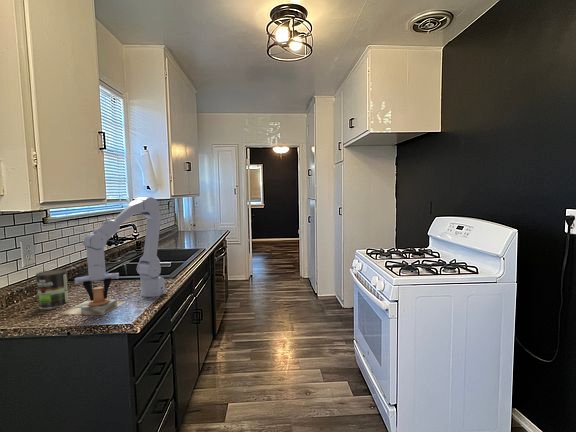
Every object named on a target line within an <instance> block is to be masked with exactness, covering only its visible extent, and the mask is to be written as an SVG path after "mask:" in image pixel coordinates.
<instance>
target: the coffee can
mask: <svg viewBox="0 0 576 432" xmlns="http://www.w3.org/2000/svg"><path fill="white" fill-rule="evenodd" d="M35 278H36V287H37V298H38V309H40V310H52V309H56V308H58V307H60V306H62V305H63V306H64V305H65V304H67V303H69V294H68V293H69V291H68V280H67V279H68V278H67V269H60V268H57V269H51V270H50V269H49V270H44V271H41V272H37V273H36V274H35Z"/></svg>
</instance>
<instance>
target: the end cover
mask: <svg viewBox="0 0 576 432" xmlns="http://www.w3.org/2000/svg"><path fill="white" fill-rule="evenodd" d="M92 293H93V301H91V300H89V301H90V302H89V305H90V306H102V305H104V304H107V303H109V300H110V298H108V297H107V299H105V297H104V293H105V290H104V286H97V287H94V288H93V287H92Z"/></svg>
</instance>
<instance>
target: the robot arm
mask: <svg viewBox="0 0 576 432" xmlns="http://www.w3.org/2000/svg"><path fill="white" fill-rule="evenodd" d="M136 214H141V215H142V216H143V217H144V218H146V219H147V220H146V231H145V236H144V237H145V239H144V244H143V245H144V246H143V255H142V256H141V257H139V261H138V264H137V266H136V272H137V274H139V278H140V294H141V295H140V296H141V297H147V298H148V297H149V298H150V297H160V296H162V295H163V294H167V292H166V283H165V282H166V281H165V278H164V277H163V276H159V275H161V272H162V266H161V259H159V257H158V248H159V247H158V246H159V240H160V229H161V222H162V214H161V211H160V202H158V201H157V199H155V198H154V197H152V196H150V197H136V198H135V199H134V200H132V201H130V202H129V204H128V205H127V206H126V207H125V208H124V209H123V210H122V211H121V212H120V213H118V215H116V216H115V217H114V218H113V219H107V220H103V222H102V224H101V225H100V226H99V227H97V229H93V230H92V232H93V233H88V234H86V235H85V236H84V239H83V241H82V244H83V246H84V247H85V248H86V259H87V260H86V261H87V271H88V272H87V273H88V275H85V276H79V277H75V278H74V284H75V285H76V284H78V285H79V284H81V283H82V286H83V288H84V289H85V290H86V293H87V294H88V296H89V299H90V300H89V301H93V293H92V289H93V282H96V281H97V282H98V281H103V287H104V291H105V293H104V297H105V299H107V298H108V292H109V288H110V285H111V282H112V280H114V279H117V280H118V279H119V278H120V273H119V272H112V273H109V272H107V271H106V260H105V247H106V245H107V243H108V241H109V240H110V239H111V238H112V237H113V236H114V235H116V233H118V232H119V231H120V228H121V225H122V224H124V223H125V222H126V221H127V220H129V219H130V218H131V217H132V216H134V215H136ZM106 272H107V273H106Z"/></svg>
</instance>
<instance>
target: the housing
mask: <svg viewBox="0 0 576 432" xmlns="http://www.w3.org/2000/svg"><path fill="white" fill-rule="evenodd" d="M90 301H91V300H84V301H83V302H82V303H78V304H77V305H75V306H72V307H70V308H69V309H66V310H64V311H62V312H59V315H92V316H93V315H95V316H104V315H105V314H107V313H109V312H111V311H112V310H114V309H116V308H117V307H120V306H121V305H123V304H124V303H126V301H117V299H109V303H107V304H104V305H102V306H90V305H89V302H90Z"/></svg>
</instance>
